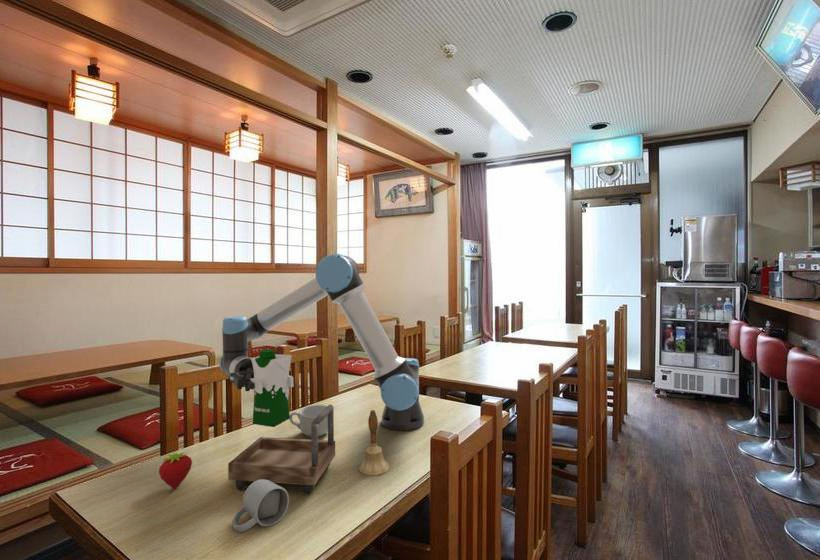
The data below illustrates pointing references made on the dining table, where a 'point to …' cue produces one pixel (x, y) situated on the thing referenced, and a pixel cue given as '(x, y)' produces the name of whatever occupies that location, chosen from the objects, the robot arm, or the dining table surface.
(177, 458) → the strawberry
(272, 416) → the soya milk
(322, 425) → the teacup
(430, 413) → the dining table surface
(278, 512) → the ceramic mug
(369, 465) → the hand bell
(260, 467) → the walnut cart
